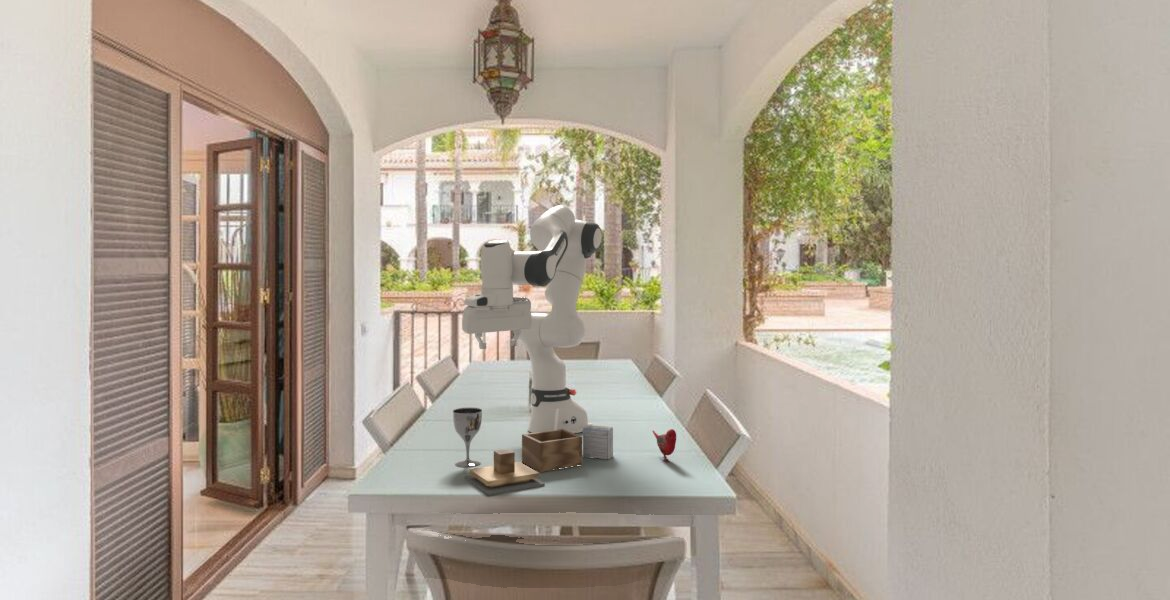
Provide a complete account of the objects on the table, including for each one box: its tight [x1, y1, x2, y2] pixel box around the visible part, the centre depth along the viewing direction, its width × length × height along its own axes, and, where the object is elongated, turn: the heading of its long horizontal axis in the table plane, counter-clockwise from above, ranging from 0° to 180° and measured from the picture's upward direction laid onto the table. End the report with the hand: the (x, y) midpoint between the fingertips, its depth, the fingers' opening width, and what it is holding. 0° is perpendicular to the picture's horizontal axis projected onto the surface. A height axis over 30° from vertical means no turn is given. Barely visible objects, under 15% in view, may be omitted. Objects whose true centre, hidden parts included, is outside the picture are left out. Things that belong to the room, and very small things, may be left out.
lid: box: [469, 448, 540, 487], centre depth 183 cm, size 14×12×7 cm
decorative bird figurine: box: [652, 428, 677, 463], centre depth 205 cm, size 3×18×10 cm, turn 15°
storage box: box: [521, 429, 583, 473], centre depth 199 cm, size 13×11×8 cm
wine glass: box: [452, 407, 483, 469], centre depth 199 cm, size 8×8×15 cm
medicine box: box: [582, 424, 614, 460], centre depth 207 cm, size 8×4×9 cm, turn 71°
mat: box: [464, 474, 546, 496], centre depth 183 cm, size 15×16×1 cm
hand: (498, 347), depth 203 cm, fingers open, 8 cm apart
